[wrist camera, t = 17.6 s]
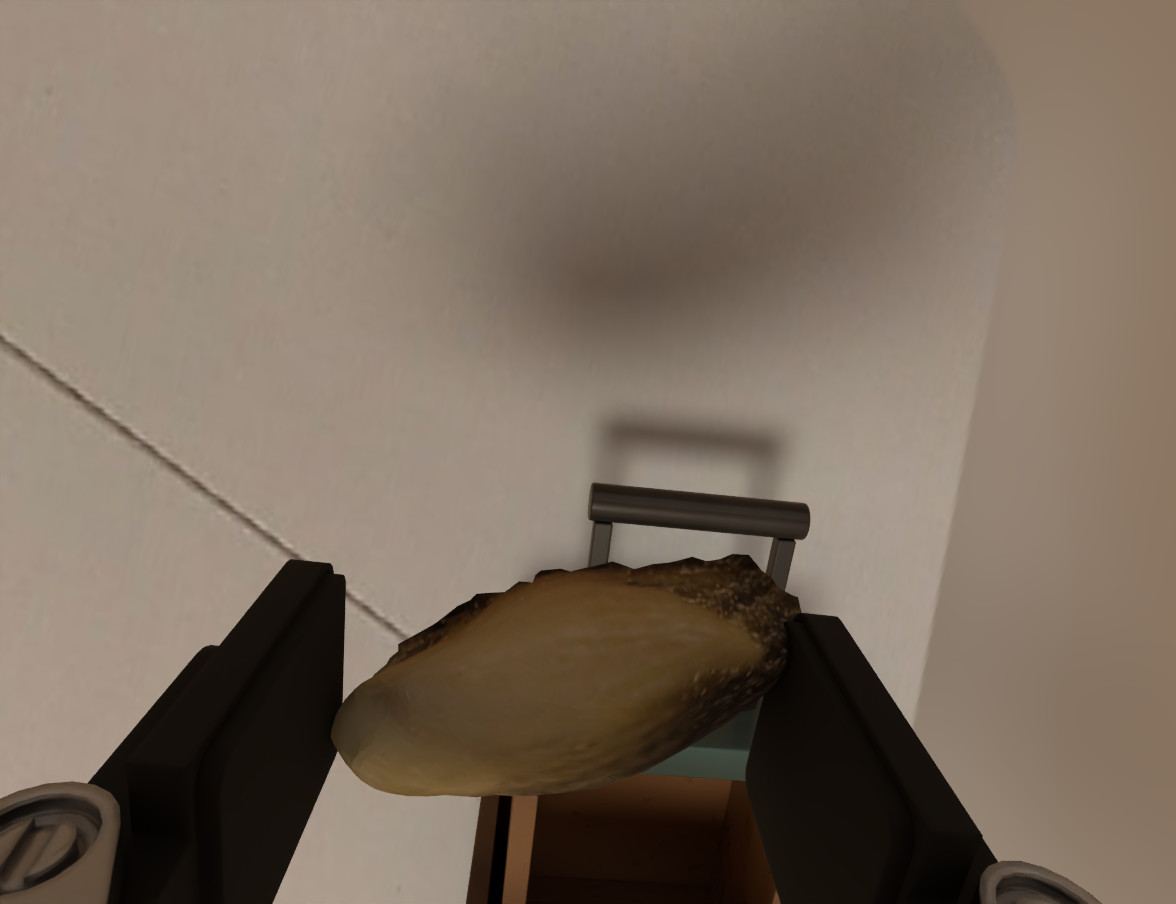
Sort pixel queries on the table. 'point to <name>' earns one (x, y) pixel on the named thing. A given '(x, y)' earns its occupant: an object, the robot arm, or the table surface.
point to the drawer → (671, 788)
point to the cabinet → (489, 851)
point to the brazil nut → (569, 680)
